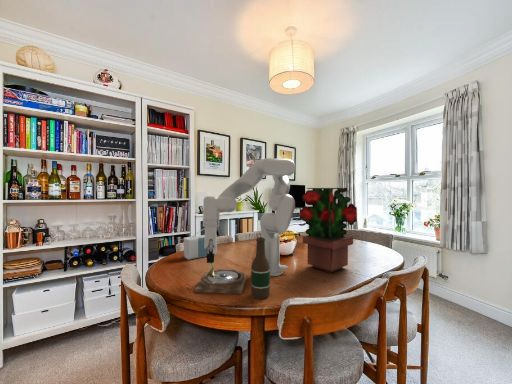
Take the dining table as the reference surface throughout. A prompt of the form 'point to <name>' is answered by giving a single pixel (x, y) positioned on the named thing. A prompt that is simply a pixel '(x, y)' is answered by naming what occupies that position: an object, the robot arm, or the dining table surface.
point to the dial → (221, 275)
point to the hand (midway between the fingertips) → (210, 259)
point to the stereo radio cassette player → (196, 247)
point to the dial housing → (222, 284)
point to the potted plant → (327, 227)
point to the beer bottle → (260, 272)
